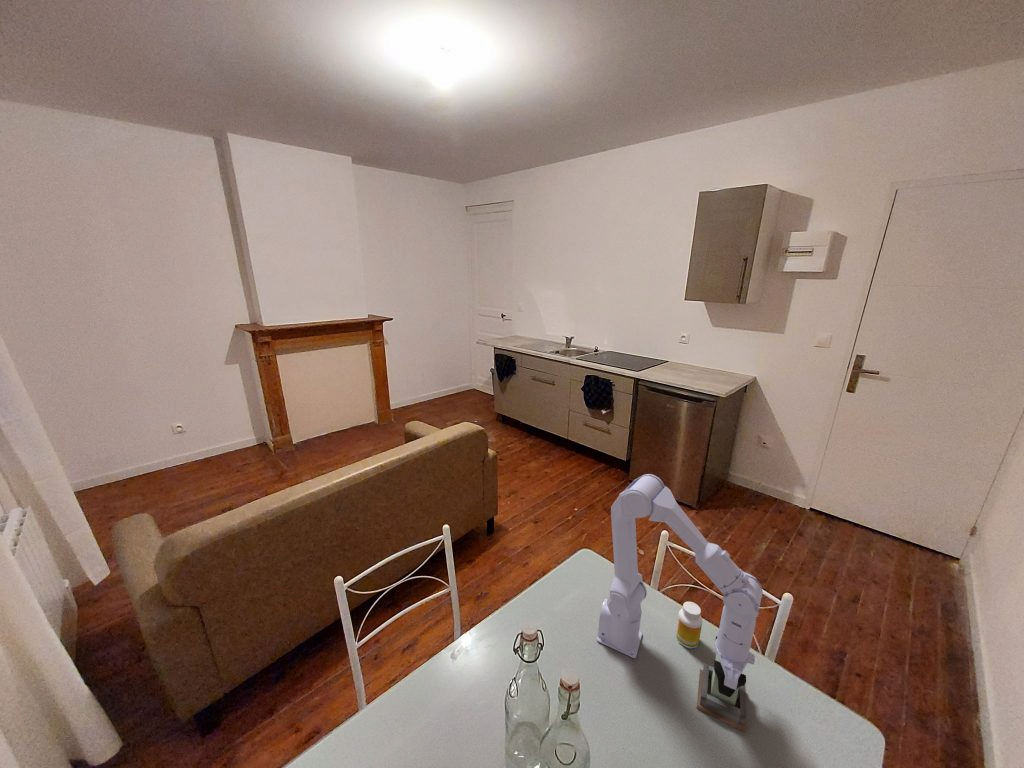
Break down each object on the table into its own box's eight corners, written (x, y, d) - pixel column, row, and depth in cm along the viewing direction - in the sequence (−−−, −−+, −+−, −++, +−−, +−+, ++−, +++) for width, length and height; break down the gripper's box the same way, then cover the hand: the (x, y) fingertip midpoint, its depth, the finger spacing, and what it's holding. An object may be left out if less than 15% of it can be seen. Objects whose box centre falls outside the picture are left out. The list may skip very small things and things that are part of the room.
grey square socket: (696, 708, 80) (698, 696, 80) (699, 671, 88) (701, 660, 87) (746, 732, 76) (749, 720, 75) (745, 692, 84) (747, 680, 83)
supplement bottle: (701, 651, 93) (707, 619, 90) (677, 646, 94) (682, 614, 91) (695, 631, 98) (701, 600, 96) (673, 628, 99) (678, 597, 97)
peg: (710, 695, 81) (716, 666, 79) (711, 677, 84) (717, 649, 82) (734, 707, 79) (741, 677, 77) (734, 687, 82) (740, 659, 80)
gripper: (760, 672, 69) (747, 727, 73) (757, 614, 82) (746, 663, 85) (717, 654, 73) (706, 707, 76) (719, 600, 85) (710, 648, 88)
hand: (724, 683), depth 81 cm, fingers closed on peg, 4 cm apart
